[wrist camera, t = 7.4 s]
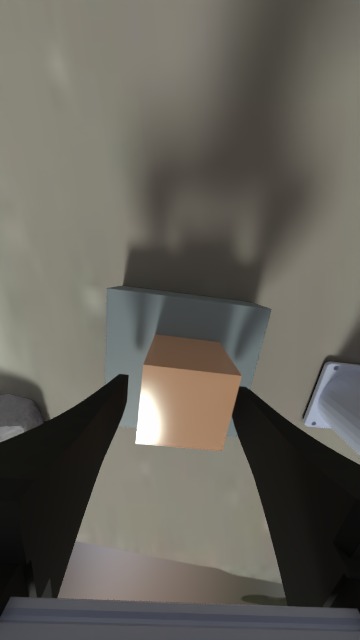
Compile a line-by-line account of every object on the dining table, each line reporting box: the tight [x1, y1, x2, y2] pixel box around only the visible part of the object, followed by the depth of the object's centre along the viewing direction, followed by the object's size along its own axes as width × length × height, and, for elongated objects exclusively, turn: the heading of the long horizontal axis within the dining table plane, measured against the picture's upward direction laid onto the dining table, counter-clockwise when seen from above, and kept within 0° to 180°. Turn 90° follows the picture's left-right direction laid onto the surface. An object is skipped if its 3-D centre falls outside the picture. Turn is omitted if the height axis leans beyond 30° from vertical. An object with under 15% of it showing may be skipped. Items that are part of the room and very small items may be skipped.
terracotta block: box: [136, 334, 242, 451], centre depth 11 cm, size 5×5×4 cm
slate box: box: [105, 286, 272, 437], centre depth 15 cm, size 12×12×4 cm
